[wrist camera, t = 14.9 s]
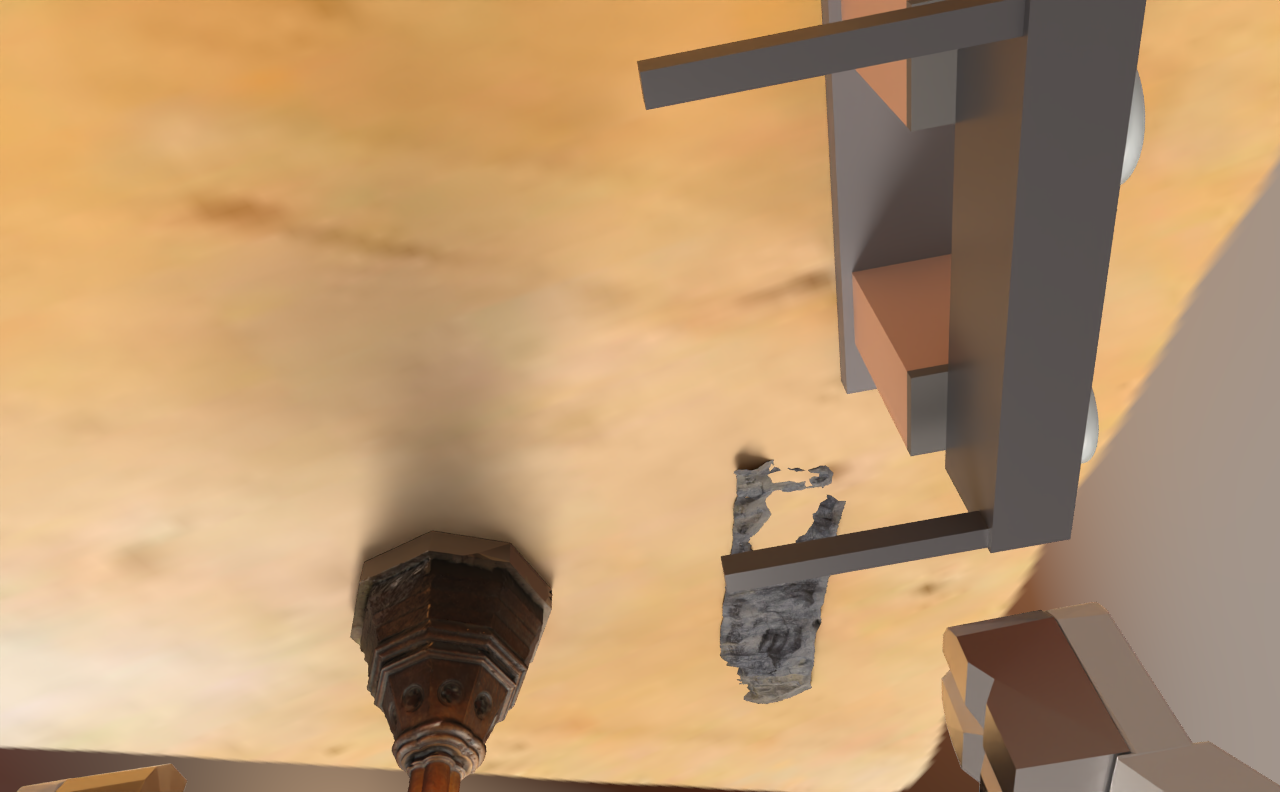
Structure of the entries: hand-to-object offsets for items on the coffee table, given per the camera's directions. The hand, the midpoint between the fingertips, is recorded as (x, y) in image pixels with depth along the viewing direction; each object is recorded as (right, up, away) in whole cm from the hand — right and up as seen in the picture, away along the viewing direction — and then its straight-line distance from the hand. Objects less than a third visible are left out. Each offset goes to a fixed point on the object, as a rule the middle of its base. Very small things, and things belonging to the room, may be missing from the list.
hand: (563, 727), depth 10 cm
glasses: (+9, +8, +24) cm, 26 cm away
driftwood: (+9, -8, +48) cm, 50 cm away
